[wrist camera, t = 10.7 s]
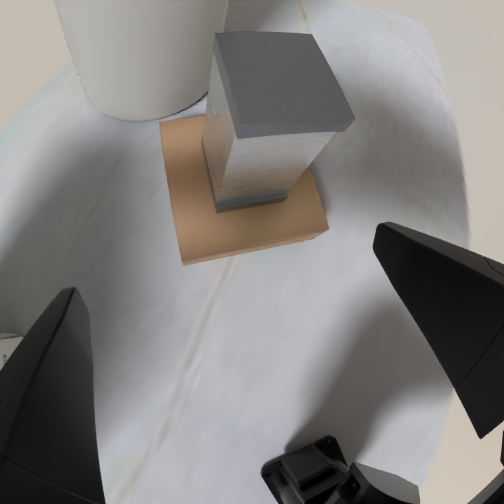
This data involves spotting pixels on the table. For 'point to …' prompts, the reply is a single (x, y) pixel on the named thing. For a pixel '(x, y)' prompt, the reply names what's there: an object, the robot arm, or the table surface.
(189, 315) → the table surface
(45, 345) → the robot arm
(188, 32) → the cylinder vase
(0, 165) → the table surface
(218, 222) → the stand
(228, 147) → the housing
